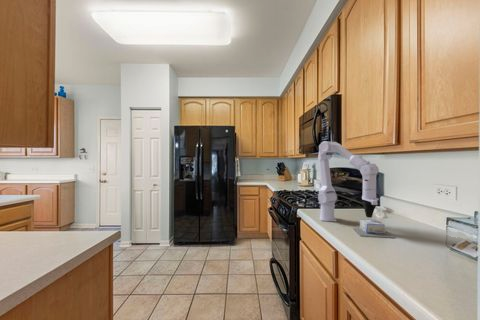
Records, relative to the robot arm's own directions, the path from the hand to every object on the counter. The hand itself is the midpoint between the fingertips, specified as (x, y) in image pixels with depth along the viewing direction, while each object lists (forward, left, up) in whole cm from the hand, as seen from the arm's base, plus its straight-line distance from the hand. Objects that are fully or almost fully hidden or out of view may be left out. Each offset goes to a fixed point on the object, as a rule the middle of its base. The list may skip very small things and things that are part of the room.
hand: (369, 217), depth 112 cm
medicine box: (-2, 0, -4) cm, 4 cm away
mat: (+5, 0, -6) cm, 8 cm away
